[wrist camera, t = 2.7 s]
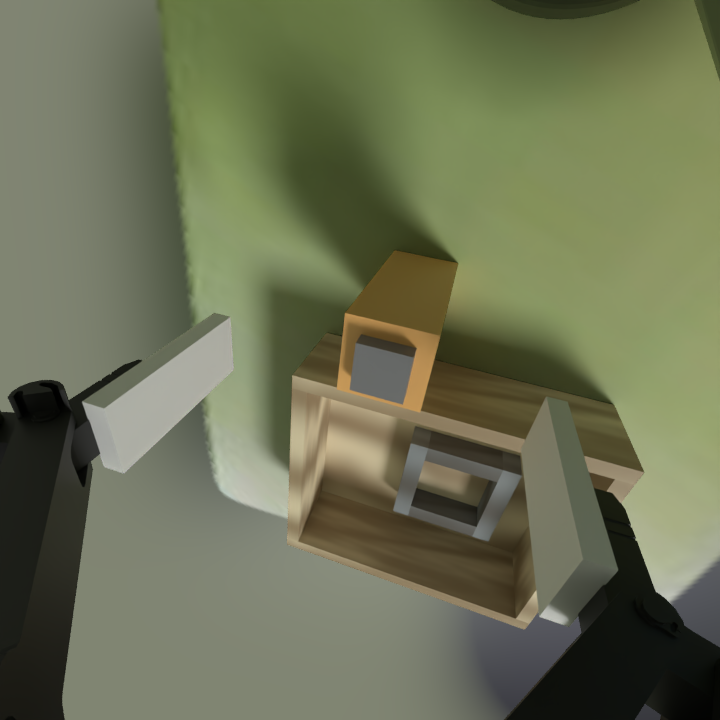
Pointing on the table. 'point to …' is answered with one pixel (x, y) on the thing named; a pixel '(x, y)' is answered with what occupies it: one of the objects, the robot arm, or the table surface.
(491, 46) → the table surface
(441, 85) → the table surface
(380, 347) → the block
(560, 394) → the walled box
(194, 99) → the table surface
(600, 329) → the table surface
